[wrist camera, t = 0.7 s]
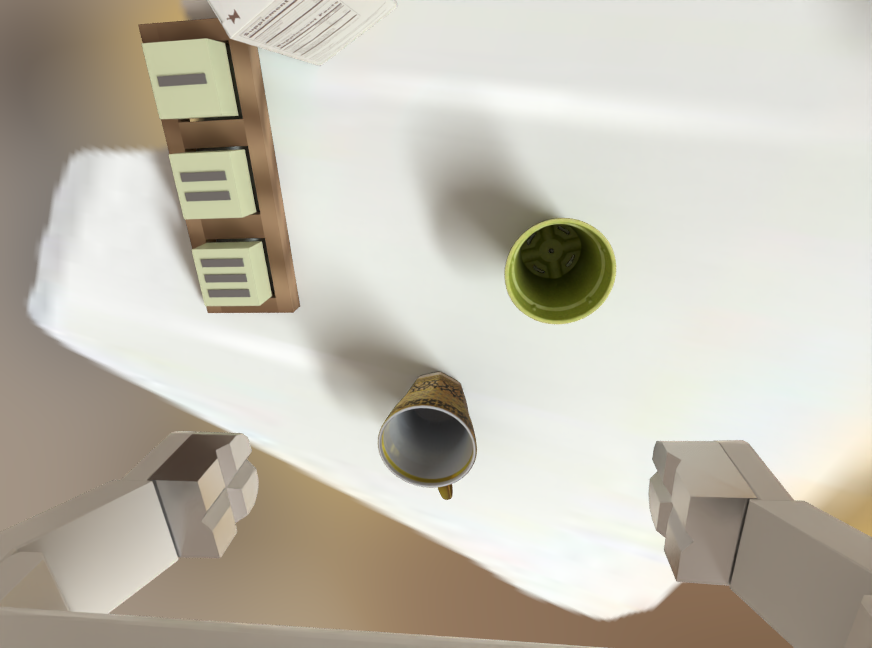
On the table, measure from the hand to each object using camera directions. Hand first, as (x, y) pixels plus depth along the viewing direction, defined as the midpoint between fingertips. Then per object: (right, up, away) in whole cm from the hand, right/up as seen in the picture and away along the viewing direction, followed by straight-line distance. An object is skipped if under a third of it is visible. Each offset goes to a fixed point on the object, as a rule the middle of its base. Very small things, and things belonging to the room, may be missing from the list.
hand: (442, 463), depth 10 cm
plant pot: (+11, +10, +41) cm, 44 cm away
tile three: (-21, +9, +43) cm, 48 cm away
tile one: (-22, +25, +36) cm, 49 cm away
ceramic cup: (0, -7, +49) cm, 50 cm away
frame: (-21, +18, +41) cm, 50 cm away
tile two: (-21, +17, +39) cm, 48 cm away
